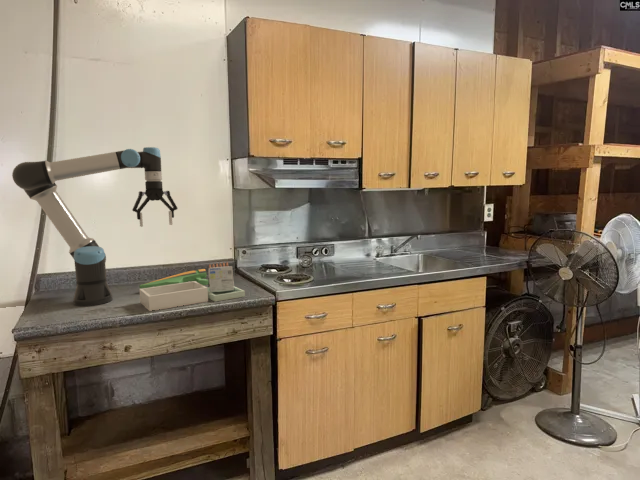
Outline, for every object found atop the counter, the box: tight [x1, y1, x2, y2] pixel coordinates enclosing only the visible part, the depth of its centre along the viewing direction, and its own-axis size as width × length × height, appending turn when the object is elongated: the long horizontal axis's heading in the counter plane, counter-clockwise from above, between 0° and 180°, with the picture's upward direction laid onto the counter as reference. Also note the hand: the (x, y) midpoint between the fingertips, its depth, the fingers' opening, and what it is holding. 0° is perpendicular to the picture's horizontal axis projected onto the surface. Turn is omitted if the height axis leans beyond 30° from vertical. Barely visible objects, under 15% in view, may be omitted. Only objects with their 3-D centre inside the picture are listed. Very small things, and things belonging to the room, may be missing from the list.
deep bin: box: [138, 281, 209, 312], centre depth 190 cm, size 24×16×6 cm, turn 124°
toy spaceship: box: [139, 268, 209, 289], centre depth 217 cm, size 32×10×7 cm, turn 128°
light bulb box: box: [207, 265, 235, 292], centre depth 201 cm, size 11×7×11 cm, turn 107°
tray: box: [206, 285, 246, 302], centre depth 201 cm, size 14×17×2 cm
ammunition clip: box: [207, 261, 229, 287], centre depth 216 cm, size 11×2×12 cm, turn 126°
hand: (156, 225), depth 214 cm, fingers open, 13 cm apart
